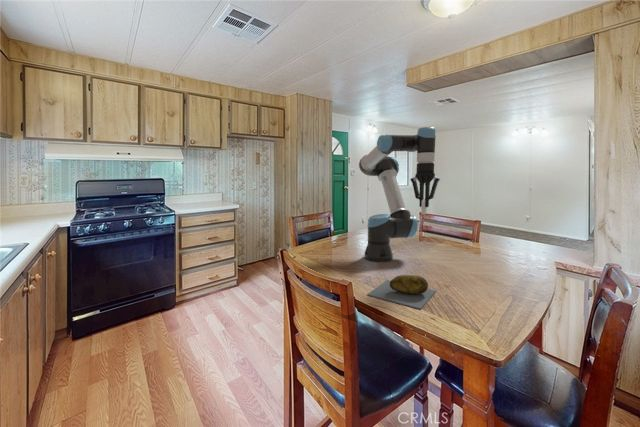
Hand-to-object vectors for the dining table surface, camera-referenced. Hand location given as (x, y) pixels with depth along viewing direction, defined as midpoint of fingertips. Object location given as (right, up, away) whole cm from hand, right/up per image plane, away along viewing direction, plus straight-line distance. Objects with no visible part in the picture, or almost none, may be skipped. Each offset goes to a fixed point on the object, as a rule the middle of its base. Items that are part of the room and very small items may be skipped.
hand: (423, 214), depth 133 cm
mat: (-17, -30, -24) cm, 42 cm away
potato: (-15, -28, -21) cm, 38 cm away
